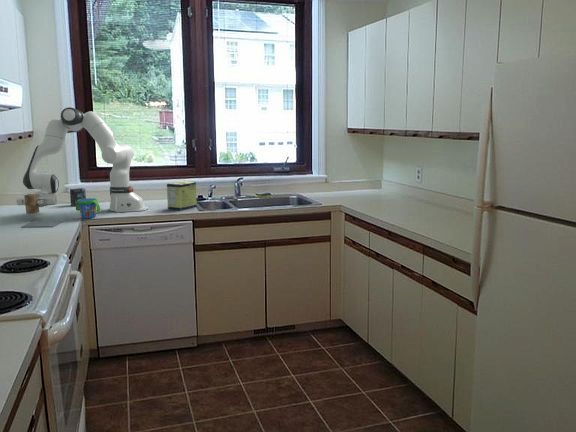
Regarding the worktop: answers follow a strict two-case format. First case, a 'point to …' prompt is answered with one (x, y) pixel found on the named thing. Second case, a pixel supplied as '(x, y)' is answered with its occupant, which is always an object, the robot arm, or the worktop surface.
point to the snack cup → (87, 207)
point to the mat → (41, 224)
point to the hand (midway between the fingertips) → (31, 203)
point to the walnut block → (31, 203)
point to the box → (77, 195)
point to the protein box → (181, 195)
